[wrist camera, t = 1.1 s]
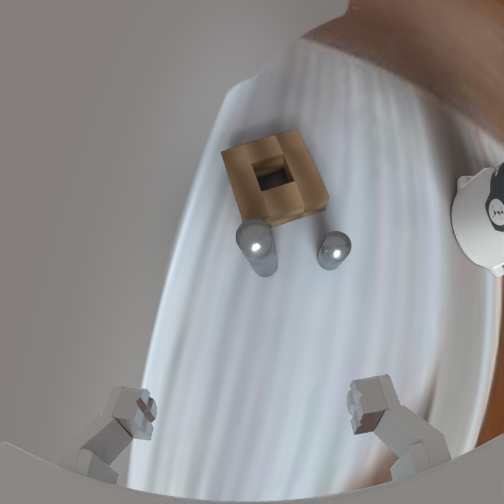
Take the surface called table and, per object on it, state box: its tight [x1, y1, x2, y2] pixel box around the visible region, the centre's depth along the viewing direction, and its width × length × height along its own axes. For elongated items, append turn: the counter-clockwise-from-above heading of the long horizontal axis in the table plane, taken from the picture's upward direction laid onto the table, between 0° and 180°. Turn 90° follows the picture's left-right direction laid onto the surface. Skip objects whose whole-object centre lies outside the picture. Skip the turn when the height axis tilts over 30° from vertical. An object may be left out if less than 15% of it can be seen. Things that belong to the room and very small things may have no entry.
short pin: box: [317, 231, 351, 270], centre depth 37 cm, size 4×4×7 cm
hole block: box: [221, 129, 329, 228], centre depth 42 cm, size 12×12×5 cm
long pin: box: [236, 219, 278, 277], centre depth 35 cm, size 4×4×14 cm
